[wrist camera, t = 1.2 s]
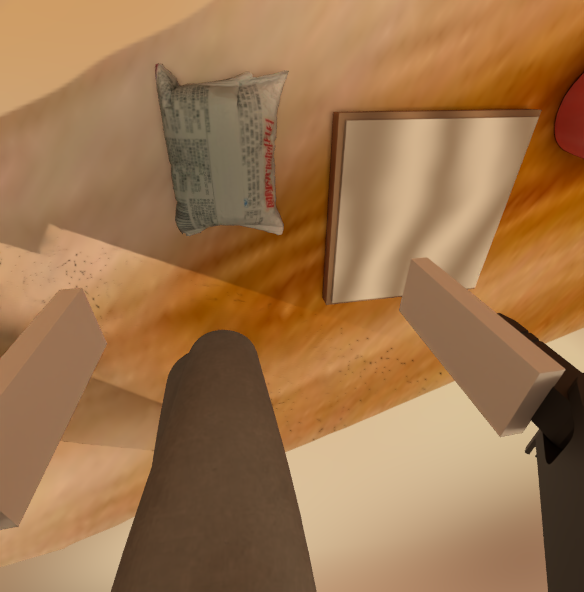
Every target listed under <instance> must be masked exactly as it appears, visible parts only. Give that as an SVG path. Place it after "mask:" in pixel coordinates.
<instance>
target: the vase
mask: <svg viewBox="0 0 584 592" xmlns="http://www.w3.org/2000/svg"><path fill="white" fill-rule="evenodd" d="M111 592H316V587H315V582H314V577H313V572H312V567H311V562H310V557H309V552H308V547H307V543H306V539H305V534H304V530H303V525H302V520H301V515H300V511H299V507H298V503H297V499H296V494H295V490H294V486H293V482H292V478H291V474H290V470H289V466H288V462H287V458H286V454H285V450H284V447H283V443H282V439H281V436H280V432H279V429H278V425H277V422H276V418H275V414H274V411H273V407H272V404H271V400H270V397H269V394H268V390H267V387H266V383H265V380H264V376H263V373H262V369H261V365H260V362H259V358H258V355H257V351H256V349H255V347H254V345H253V344H252V342H251V341H250V340H249V339H248V338H247V337H245V336H244V335H242V334H240V333H237V332H235V331H230V330H217V331H212V332H209V333H207V334H205V335H203V336H202V337H200V338H199V339H198V340H197V341H196V342H195V343H194V345H193V346H192V348H191V350H190V352H189V353H188V354H186V355H185V356H183V357H182V358H181V359H179V360H178V361H177V362H176V363H175V365H174V366H173V367H172V369H171V371H170V373H169V375H168V379H167V383H166V389H165V394H164V399H163V404H162V409H161V415H160V420H159V426H158V432H157V438H156V444H155V450H154V456H153V463H152V468H151V471H150V474H149V477H148V479H147V482H146V485H145V488H144V491H143V494H142V497H141V500H140V503H139V506H138V509H137V512H136V515H135V518H134V521H133V524H132V527H131V530H130V533H129V537H128V539H127V542H126V545H125V548H124V551H123V554H122V557H121V561H120V564H119V567H118V570H117V574H116V577H115V580H114V583H113V586H112V590H111Z"/></svg>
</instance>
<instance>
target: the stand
mask: <svg viewBox="0 0 584 592" xmlns="http://www.w3.org/2000/svg"><path fill="white" fill-rule="evenodd" d="M540 113H541V110H535V109H506V110H438V111H370V112H334V114H333V131H332V147H331V164H330V181H329V198H328V215H327V232H326V249H325V266H324V283H323V299H324V301H325V303H326V305H329V304H338V303H348V302H357V301H366V300H375V299H384V298H394V297H402V296H403V291H404V287H405V283H406V278H407V274H408V269H409V265H410V261H411V259H414V258H426V257H427V258H429V259H430V260H431V261H432V262H434V263H435V264H436V265H437V266H439V267H440V268H441V269H442V270H444V271H445V272H446V273H447V274H448V275H450V276H451V277H452V278H453V279H455V280H456V281H457V282H458V283H460V284H461V285H462V286H463V287H465V288H466V289H474V288H475V286H476V283H477V280H478V278H479V275H480V272H481V270H482V267H483V264H484V262H485V259H486V256H487V254H488V251H489V248H490V246H491V243H492V241H493V238H494V235H495V233H496V230H497V227H498V225H499V222H500V219H501V217H502V214H503V211H504V209H505V206H506V203H507V201H508V198H509V195H510V193H511V190H512V187H513V185H514V182H515V179H516V177H517V174H518V171H519V169H520V166H521V163H522V161H523V158H524V155H525V153H526V150H527V147H528V145H529V142H530V140H531V137H532V134H533V132H534V129H535V126H536V124H537V121H538V118H539V116H540Z"/></svg>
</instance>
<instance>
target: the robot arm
mask: <svg viewBox="0 0 584 592" xmlns="http://www.w3.org/2000/svg"><path fill="white" fill-rule="evenodd" d="M399 311H400V312H401V314H402V315H403V316H404V317H405V319H406V320H407V321H408V322H409V324H410V325H411V326H412V327H413V329H414V330H415V331H416V332H417V334H418V335H419V336H420V337H421V339H422V340H423V341H424V342H425V344H426V345H427V346H428V347H429V349H430V350H431V351H432V352H433V354H434V355H435V356H436V357H437V359H438V360H439V361H440V362H441V364H442V365H443V366H444V367H445V369H446V370H447V371H448V372H449V374H450V375H451V376H452V377H453V379H454V380H455V381H456V382H457V384H458V385H459V386H460V387H461V389H462V390H463V391H464V392H465V394H466V395H467V396H468V397H469V399H470V400H471V401H472V402H473V404H474V405H475V406H476V407H477V409H478V410H479V411H480V412H481V414H482V415H483V416H484V417H485V418H486V420H487V421H488V422H489V424H490V425H491V426H492V427H493V429H494V430H495V431H496V432H497V434H498V435H499V436H500V437H503V436H509V435H514V434H519V433H523V431H524V430H525V428H526V427H527V425H528V424H529V423H530V421H531V420H532V422H533V423H534V424H535V425H536V426H537V427H538V428H539V430H538V432H537V433H536V434H535V436H534V437H533V438H532V440H531V441H530V442H529V444H528V445H527V447H526V450H525V453H527V454H530V452H531V451H532V450H533V448H534V447H536V452H537V455H536V456H535V457H537V464H538V475H539V487H540V499H541V512H542V522H543V523H542V524H543V536H544V548H545V559H546V571H547V583H548V592H584V373H582V372H580V371H579V370H578V369H576V368H575V367H574V366H573V365H571V364H570V363H569V362H567V361H566V360H565V359H564V358H562V357H561V356H560V355H558V354H557V353H556V352H555V351H553V350H552V349H551V348H550V347H548V346H547V345H546V344H544V343H543V342H542V341H539V339H538V338H537V337H535V336H534V335H533V334H532V333H528V330H527V329H525V328H524V327H523V326H521V325H520V324H519V323H518V322H516V321H515V320H513V319H511V318H509V317H507V316H505V315H503V314H501V313H495V312H494V311H493V310H492V309H491V308H489V307H488V306H487V305H486V304H484V303H483V302H482V301H481V300H479V299H478V298H477V297H476V296H474V295H473V294H472V293H471V292H470V291H468V290H467V289H466V288H465V287H463V286H462V285H461V284H460V283H458V282H457V281H456V280H455V279H453V278H452V277H451V276H450V275H448V274H447V273H446V272H445V271H444V270H442V269H441V268H440V267H439V266H437V265H436V264H435V263H434V262H432V261H431V260H430V259H429V258H427V257H426V258H414V259H411V261H410V265H409V269H408V274H407V278H406V283H405V287H404V291H403V296H402V300H401V304H400V309H399ZM106 345H107V343H106V340H105V338H104V336H103V334H102V331H101V329H100V327H99V325H98V322H97V320H96V318H95V316H94V313H93V311H92V309H91V307H90V304H89V302H88V300H87V298H86V295H85V293H84V291H83V289H82V288H74V289H63V290H59V291H58V292H57V293H56V294H55V296H54V297H53V298H52V299H51V300H50V301H49V303H48V304H47V305H46V306H45V307H44V308H43V310H42V311H41V312H40V313H39V314H38V315H37V316H36V318H35V319H34V320H33V321H32V322H31V323H30V325H29V326H28V327H27V328H26V329H25V330H24V332H23V333H22V334H21V335H20V336H19V337H18V338H17V340H16V341H15V342H14V343H13V344H12V345H11V347H10V348H9V349H8V350H7V351H6V352H5V354H4V355H3V356H2V357H1V358H0V530H2V529H8V528H13V527H18V526H19V524H20V522H21V520H22V518H23V516H24V514H25V512H26V510H27V508H28V506H29V504H30V501H31V499H32V497H33V495H34V493H35V491H36V489H37V487H38V485H39V483H40V481H41V479H42V477H43V475H44V473H45V470H46V468H47V466H48V464H49V462H50V460H51V458H52V456H53V454H54V452H55V450H56V448H57V446H58V444H59V442H60V440H61V437H62V435H63V433H64V431H65V429H66V427H67V425H68V423H69V421H70V419H71V417H72V415H73V413H74V411H75V409H76V407H77V404H78V402H79V400H80V398H81V396H82V394H83V392H84V390H85V388H86V386H87V384H88V382H89V380H90V378H91V376H92V374H93V371H94V369H95V367H96V365H97V363H98V361H99V359H100V357H101V355H102V353H103V351H104V349H105V347H106Z"/></svg>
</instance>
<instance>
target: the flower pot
mask: <svg viewBox="0 0 584 592" xmlns="http://www.w3.org/2000/svg"><path fill="white" fill-rule="evenodd" d="M555 137H556V141H557V143H558V145H559V146H560V147H561V148H562V149H563V150H565V151H567V152H569V153H571V154H573V155H576V156H578V157H580V158H583V159H584V73H583V74H582V75H581V76H580V78H579V79H578V80H577V81H576V82H575V83H574V84H573V85H572V87H571V88H570V90H569V91H568V92H567V94H566V96H565V97H564V99H563V101H562V103H561V105H560V108H559V110H558V113H557V117H556V121H555Z"/></svg>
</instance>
